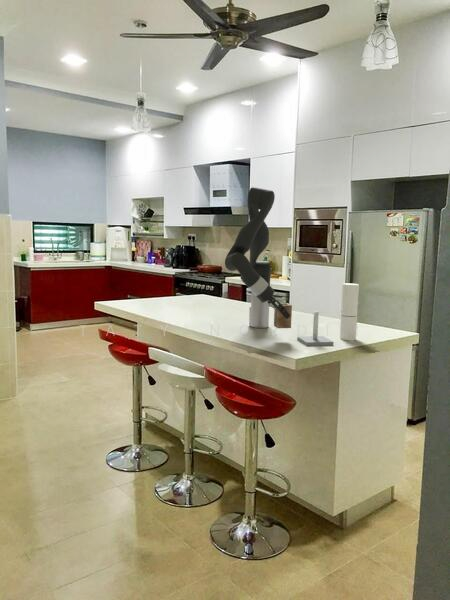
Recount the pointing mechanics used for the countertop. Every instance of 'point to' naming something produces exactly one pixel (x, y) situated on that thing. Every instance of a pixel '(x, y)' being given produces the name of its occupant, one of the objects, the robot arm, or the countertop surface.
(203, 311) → the countertop surface
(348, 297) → the cylindrical container
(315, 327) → the post stand
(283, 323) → the collar
